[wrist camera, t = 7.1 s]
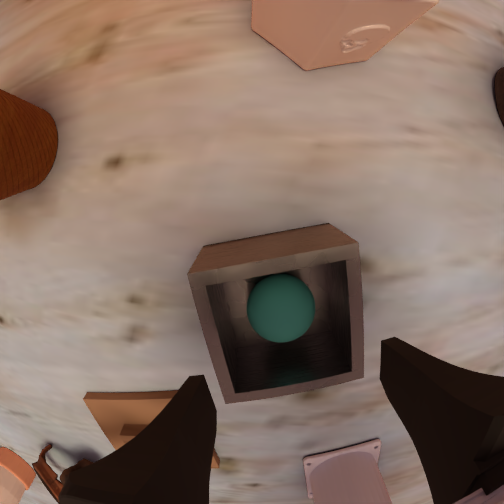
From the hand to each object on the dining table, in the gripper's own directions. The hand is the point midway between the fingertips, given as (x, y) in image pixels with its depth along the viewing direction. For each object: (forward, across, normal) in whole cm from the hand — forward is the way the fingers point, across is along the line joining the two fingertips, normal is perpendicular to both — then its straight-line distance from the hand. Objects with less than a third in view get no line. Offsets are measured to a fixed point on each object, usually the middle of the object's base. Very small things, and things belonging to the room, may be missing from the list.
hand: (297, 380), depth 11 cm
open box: (+9, 0, 0) cm, 9 cm away
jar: (+9, -6, -18) cm, 21 cm away
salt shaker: (+9, +44, +24) cm, 51 cm away
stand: (+9, +13, +12) cm, 20 cm away
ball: (+7, 0, 0) cm, 7 cm away
